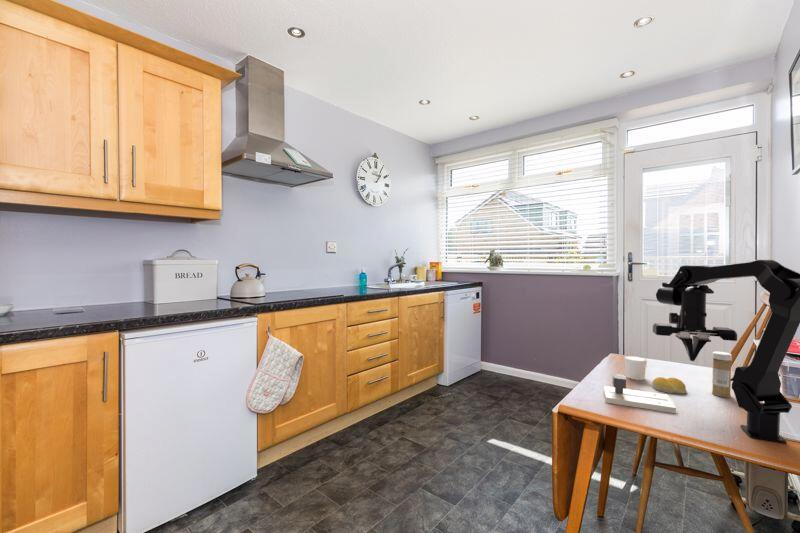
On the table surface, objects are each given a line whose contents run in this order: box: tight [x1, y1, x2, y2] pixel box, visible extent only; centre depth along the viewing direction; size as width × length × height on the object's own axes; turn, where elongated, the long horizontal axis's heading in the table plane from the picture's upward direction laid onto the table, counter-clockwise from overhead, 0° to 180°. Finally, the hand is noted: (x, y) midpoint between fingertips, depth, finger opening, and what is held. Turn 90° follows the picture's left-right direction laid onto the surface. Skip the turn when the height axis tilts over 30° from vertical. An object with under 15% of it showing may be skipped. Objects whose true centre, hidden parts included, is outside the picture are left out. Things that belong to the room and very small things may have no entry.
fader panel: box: [603, 385, 677, 414], centre depth 111 cm, size 11×17×2 cm, turn 64°
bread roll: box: [651, 376, 688, 395], centre depth 120 cm, size 8×9×4 cm
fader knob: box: [611, 373, 627, 394], centre depth 113 cm, size 4×3×5 cm
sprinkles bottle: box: [711, 350, 733, 398], centre depth 115 cm, size 5×5×13 cm
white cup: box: [624, 355, 648, 381], centre depth 132 cm, size 7×7×7 cm
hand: (692, 360), depth 108 cm, fingers closed
